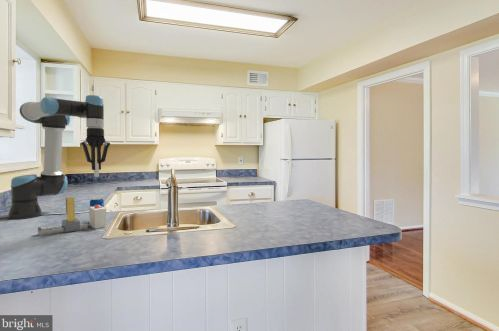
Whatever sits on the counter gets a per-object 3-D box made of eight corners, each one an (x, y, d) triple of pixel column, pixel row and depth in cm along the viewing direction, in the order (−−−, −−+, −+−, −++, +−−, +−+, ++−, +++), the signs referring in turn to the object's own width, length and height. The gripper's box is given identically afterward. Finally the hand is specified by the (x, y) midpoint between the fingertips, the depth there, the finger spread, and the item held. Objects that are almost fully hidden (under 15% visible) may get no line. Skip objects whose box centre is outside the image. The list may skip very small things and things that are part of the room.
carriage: (61, 228, 139) (60, 197, 138) (76, 226, 143) (75, 195, 142) (65, 232, 133) (64, 199, 132) (80, 229, 137) (79, 197, 136)
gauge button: (94, 221, 145) (93, 205, 145) (99, 220, 147) (99, 204, 147) (95, 222, 143) (95, 205, 143) (101, 221, 145) (101, 205, 145)
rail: (37, 234, 131) (37, 227, 130) (85, 227, 143) (85, 220, 143) (38, 235, 128) (38, 228, 128) (87, 228, 141) (87, 221, 141)
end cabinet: (89, 224, 147) (89, 206, 147) (100, 223, 151) (100, 205, 150) (95, 228, 140) (94, 209, 140) (106, 226, 143) (106, 208, 143)
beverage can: (98, 223, 151) (97, 199, 151) (87, 222, 153) (86, 199, 152) (106, 220, 158) (106, 197, 157) (96, 219, 159) (95, 197, 159)
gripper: (82, 126, 136) (83, 177, 137) (112, 128, 145) (113, 176, 146) (78, 127, 142) (79, 176, 143) (107, 129, 150) (108, 175, 151)
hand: (96, 176), depth 144 cm, fingers closed
